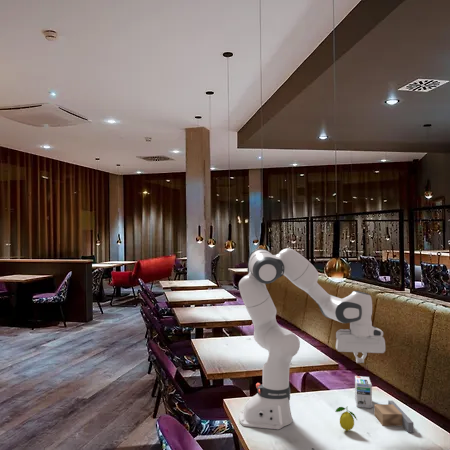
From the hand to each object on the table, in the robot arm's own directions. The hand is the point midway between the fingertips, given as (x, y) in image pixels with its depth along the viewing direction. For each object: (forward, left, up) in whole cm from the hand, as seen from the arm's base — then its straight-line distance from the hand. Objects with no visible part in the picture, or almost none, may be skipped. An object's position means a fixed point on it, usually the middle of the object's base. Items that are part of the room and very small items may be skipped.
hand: (359, 362), depth 187 cm
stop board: (+16, -2, -24) cm, 29 cm away
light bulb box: (+6, +16, -24) cm, 29 cm away
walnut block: (+11, -2, -24) cm, 26 cm away
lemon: (-9, -12, -24) cm, 28 cm away
